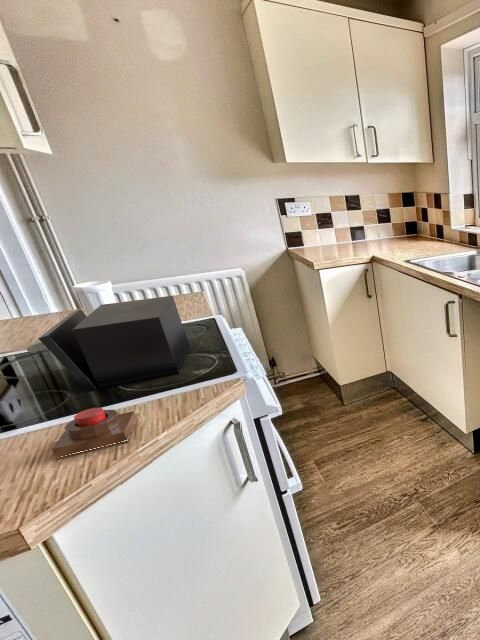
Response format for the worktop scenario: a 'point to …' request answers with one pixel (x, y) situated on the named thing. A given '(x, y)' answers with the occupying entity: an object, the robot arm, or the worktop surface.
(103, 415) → the button
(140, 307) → the oven
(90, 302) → the cup
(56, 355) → the oven door
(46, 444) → the worktop surface
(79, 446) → the block
